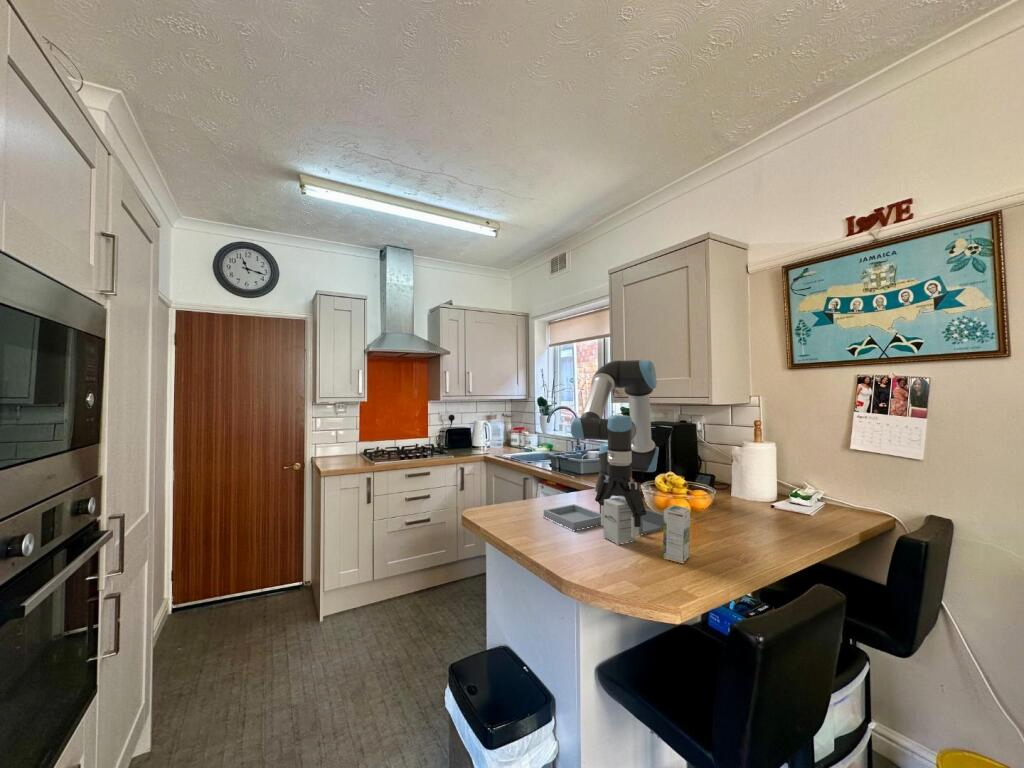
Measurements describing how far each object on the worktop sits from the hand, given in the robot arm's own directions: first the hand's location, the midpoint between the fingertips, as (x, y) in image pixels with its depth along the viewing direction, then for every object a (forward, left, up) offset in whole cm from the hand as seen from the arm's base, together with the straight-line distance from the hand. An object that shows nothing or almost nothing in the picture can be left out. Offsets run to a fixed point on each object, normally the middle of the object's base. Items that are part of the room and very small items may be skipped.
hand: (619, 530), depth 133 cm
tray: (0, -22, -3) cm, 22 cm away
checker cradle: (-15, -6, -3) cm, 16 cm away
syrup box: (-3, +19, -3) cm, 20 cm away
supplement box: (0, 0, -3) cm, 3 cm away
